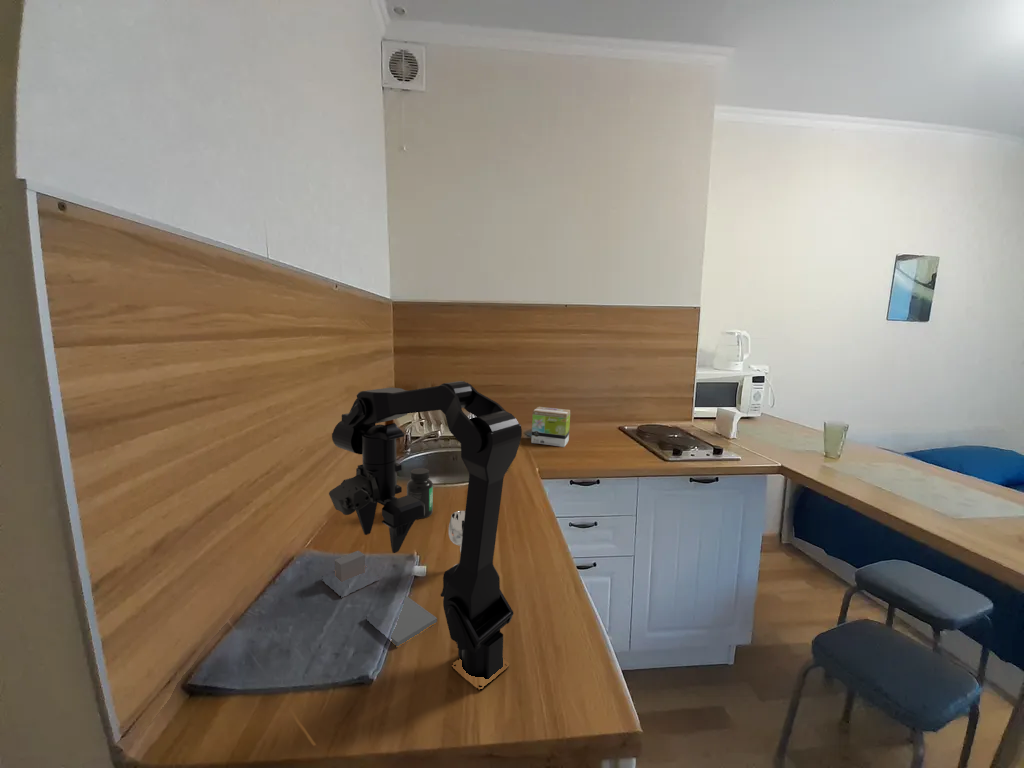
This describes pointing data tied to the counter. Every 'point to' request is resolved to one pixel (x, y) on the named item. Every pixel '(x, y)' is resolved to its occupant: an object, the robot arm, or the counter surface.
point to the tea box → (550, 426)
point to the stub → (350, 566)
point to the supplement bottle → (421, 489)
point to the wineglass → (456, 527)
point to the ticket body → (411, 621)
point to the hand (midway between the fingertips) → (380, 542)
